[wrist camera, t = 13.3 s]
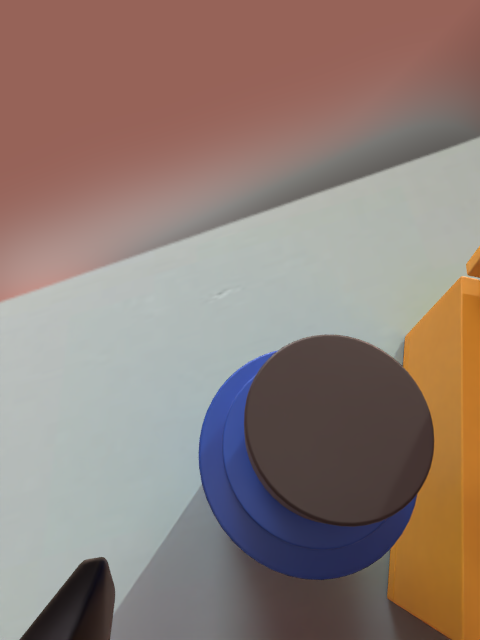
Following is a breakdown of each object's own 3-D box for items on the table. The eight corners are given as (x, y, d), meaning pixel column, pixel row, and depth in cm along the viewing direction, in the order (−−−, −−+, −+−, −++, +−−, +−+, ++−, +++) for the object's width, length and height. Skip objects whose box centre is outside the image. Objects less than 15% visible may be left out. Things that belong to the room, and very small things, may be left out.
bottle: (364, 484, 16) (580, 441, 6) (274, 575, 15) (344, 740, 4) (283, 394, 18) (335, 235, 8) (196, 467, 17) (111, 398, 6)
